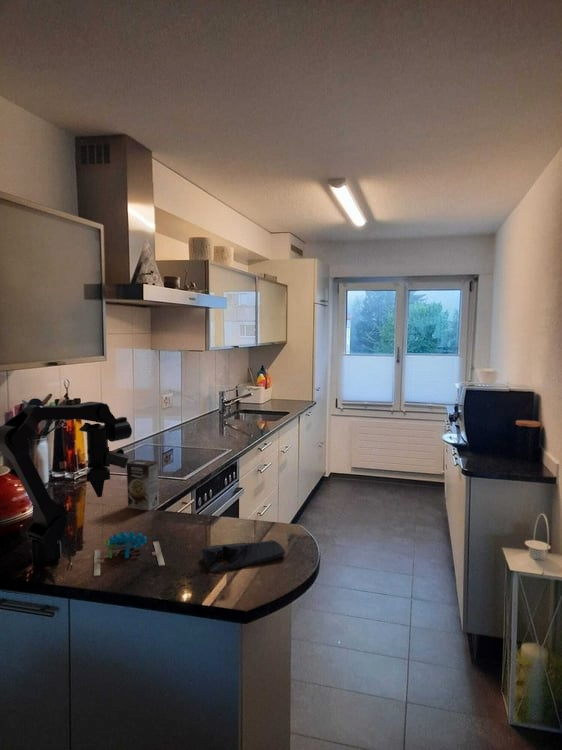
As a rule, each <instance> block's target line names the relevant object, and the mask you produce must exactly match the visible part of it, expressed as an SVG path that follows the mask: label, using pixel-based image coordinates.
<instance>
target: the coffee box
mask: <svg viewBox="0 0 562 750" xmlns="http://www.w3.org/2000/svg"><path fill="white" fill-rule="evenodd" d="M126 482H127V483H126V484H127V487H126V488H127V508H128V509H134V510H143V511H147V512H149V511H151V510H153V509H155V508H156V507H158V506H160V499H159V497H160V496H159V493H160V492H159V461H155V460H148V459H147V460H146V459H135V460H131V461H128V462H127V465H126Z"/></svg>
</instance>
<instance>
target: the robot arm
mask: <svg viewBox="0 0 562 750" xmlns="http://www.w3.org/2000/svg"><path fill="white" fill-rule="evenodd" d="M59 420H60V421H62V420H82V421H87V422H84V424H83V425H82V426H81V427H79V429H78V430H79V432H84V433H86V447H87V450H86V454H87V469H88V470H87V471H86V475H85V476H86V482H88V483H90V485H91V487H92V489H93V491H94V493H95V494H96V497H97V498H102V497H103V492H104V485H105V481H108V480H111V470H110V468H109V467H110V466H111V465H112V466H115V467H119V468H121V469H127V463H129V459H130V458H129V455H128V454H126V453H125V451H124V449H123V448H117V449H116V451H112V450H110V447H109V442H111V443H113V442H118V441H122V440H123V441H124V440H127V439H129V438H131V436H132V433H133V430H132V427H131V424H130V422H129V421H128V417H126V416H120V417H117V418H116V417H115V415H114V414H113V412H111V408H110V406H109V405H108V403H106V402H99V401H87V402H82V403H78V404H75V405H36V404H33V405H32V404H30V405H27V406H25V407H24V408H23V409H22V410H21V411H20V412H19V413H17V414H15V415H14V416H13V417H11V418H10V419H9V418H8V420H7V421H6V422H5V423H4V424H3V425H0V453H1V454H2V455H3V456H5V458H7V460H9V461H10V463H11V464H12V467H13V469H14V471H15V473H16V475H17V477H18V478H19V481H20V483H21V485H22V487H23V489H24V491H25V493H26V495H27V496H28V499H29V501H30V502H31V504H32V518H33V521H32V523H31V524H30V525H29V527H28V528H27V530H26V531H25V534H26V536H27V538H28V539H32V540H31V556H32V557H31V559H32V561H31V562H32V563H31V568H36V567H37V568H38V567H43V566H44V567H45V566H51V565H57V564H59V562H60V559H61V557H62V542H61V540H62V539H63V536H64V533H65V532H64V531H65V528H66V526H67V524H68V523H69V518H68V516H67V515H69V512H68V511H67V510H66V509H65V504H64V503H63V501H60V500H58V499H53V498H52V497H51V495H50V493H49V491H48V489H47V487H46V486H45V484H44V481H43V480H42V477H41V476H40V474H39V471H38V469H37V468H36V465H35V463H34V460H33V459H32V457H31V452H30V451H31V443H30V439H29V438H31V437H32V435H33V434H34V433H35V431H36V430H37V428H38V426H39V424H40V423H41V422H42V421H59ZM90 422H93V423H92V424H91V423H90ZM103 424H104V425H103Z"/></svg>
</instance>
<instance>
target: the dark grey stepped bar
mask: <svg viewBox="0 0 562 750" xmlns="http://www.w3.org/2000/svg"><path fill="white" fill-rule="evenodd" d="M201 551H202V555H203V557H202V558H203V562H204V565H205V566H206V568H207V569H208V570H210V572H212V573H220V572H222V571H231V570H236V569H241V568H245V567H247V566H254V565H259V564H262V563H263V564H264V563H266V562H267V563H269V562H271V561H275V560H277V559H279V558H282V557H283V558H284V556H285V555H286V551H285V549H284V547H283V546H282V545H281V544H280V543H279V542H278V541H277V540H274V539H273V540H272V539H269V540H266V541H264V540H263V541H258V542H257V541H256V542H238V543H237V542H236V543H226V544H224V543H223V544H216V545H210V546H207V547H203V548H202V549H201ZM223 561H227V563H228V564H223Z"/></svg>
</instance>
